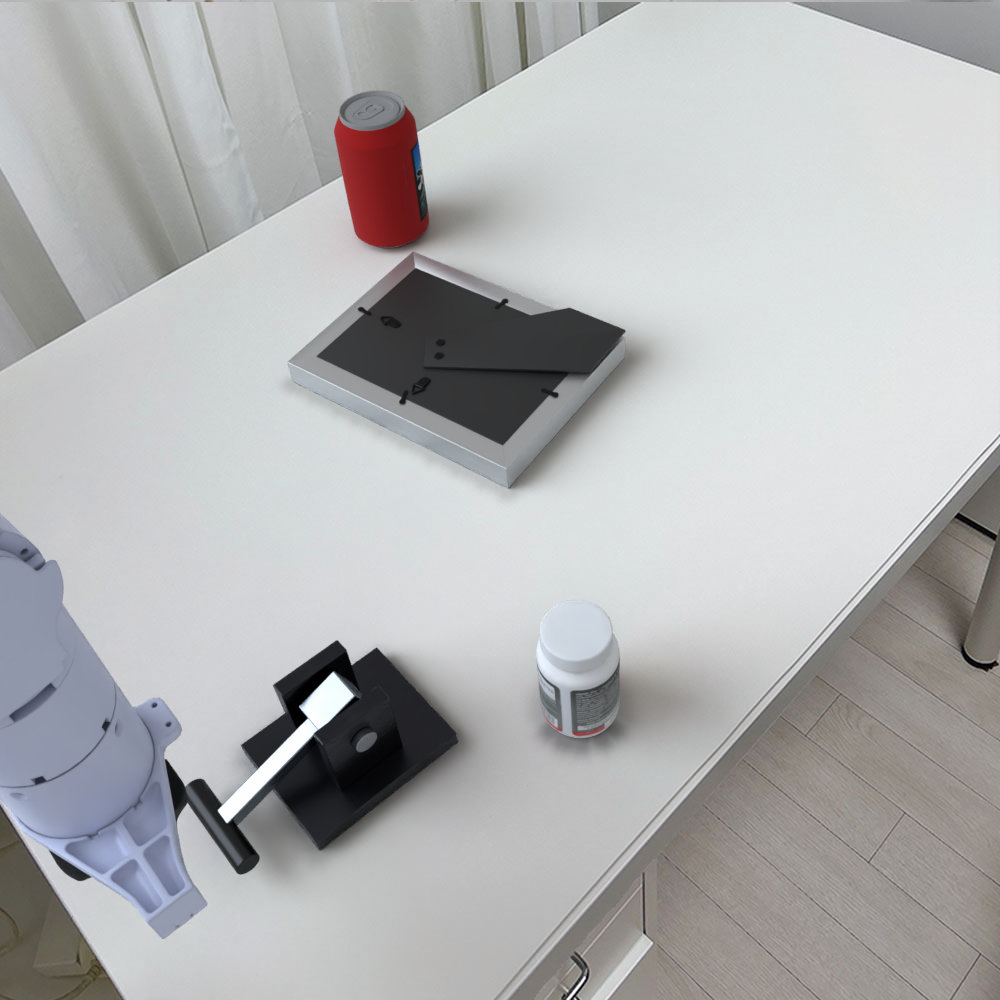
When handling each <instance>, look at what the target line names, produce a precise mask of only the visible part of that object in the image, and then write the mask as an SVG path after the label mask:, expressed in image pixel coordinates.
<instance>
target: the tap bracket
mask: <svg viewBox="0 0 1000 1000" xmlns="http://www.w3.org/2000/svg"><path fill="white" fill-rule="evenodd" d="M333 671H335V672H337V673H338V674H340V675H341V676H343V677H344V678H346V679H347V680H349V681H350V682H352V683H353V684H354V686H355V687H356V688H357V689H358V690H359V691H360V692H361V693H362V695H363V697H362V698H361V699H359V700H358V701H356V702H355V703H354V704H352V705H351V706H350V707H348V708H347V709H346V710H344V711H343V712H341V713H340V714H339V715H337V716H336V717H335V718H333V719H332V720H331V721H329V722H328V723H327V724H325V725H324V726H322V727H321V728H320V729H318V730H317V731H316V732H314V733H313V735H314V738H315V740H316V742H317V745H316V746H315V747H314V748H313V749H312V750H311V751H310V752H309V753H308V754H307V755H306V756H305V757H304V758H303V759H302V760H301V761H300V762H299V763H298V764H297V765H296V766H295V767H294V768H293V769H292V770H291V771H290V772H289V773H288V774H287V775H286V776H285V778H284V779H283V780H282V781H281V782H280V783H279V784H278V785H277V786H276V787H275V788H274V789H273V790H272V791H273V793H274V794H275V795H276V797H278V799H279V800H280V802H281V803H282V804H283V806H284V807H285V808H286V809H287V811H288V812H289V814H290V815H291V816H292V817H293V818H294V820H295V821H296V822H297V823H298V825H299V826H300V827H301V829H302V831H303V832H304V833H305V834H306V836H307V837H308V838H309V839H310V841H311V842H312V843H313V845H314V846H315V847H316V848H317V850H318V851H320V852H321V851H322V850H323V849H325V848H326V847H327V846H328V845H329V844H331V843H332V842H333V841H335V840H336V839H337V838H339V837H341V835H342V834H344V833H345V832H346V831H348V830H349V829H350V828H351V827H353V826H354V825H355V824H356V823H358V822H359V821H360V820H362V819H363V818H364V817H365V816H366V815H367V814H370V812H372V811H373V810H374V809H375V808H377V807H378V806H379V805H380V804H382V803H383V802H384V801H386V800H387V799H388V798H389V797H390V796H392V795H393V794H394V793H395V792H397V791H398V790H400V789H401V788H402V787H403V786H405V785H406V784H407V783H408V782H410V781H411V780H412V779H414V778H415V776H417V775H418V774H420V773H421V772H422V771H424V770H425V769H426V768H427V767H429V766H430V765H432V764H433V763H434V762H435V761H436V760H438V759H439V758H440V757H441V756H443V755H444V754H445V753H447V752H448V751H449V750H450V749H452V748H453V747H454V746H456V745H457V744H458V743H459V740H458V735H457V732H456V730H454V728H453V727H452V726H451V725H450V724H449V723H448V722H447V721H446V720H445V719H444V717H442V715H441V714H440V713H438V711H437V710H436V709H435V708H434V707H433V706H432V705H431V704H430V703H429V701H427V699H426V698H424V697H423V695H422V694H421V693H420V692H419V691H418V690H417V689H416V688H415V686H414V685H413V684H412V683H411V682H410V681H409V680H408V679H407V678H406V676H405V675H403V673H402V672H400V670H399V669H398V668H397V667H396V666H395V665H394V664H393V663H392V662H391V661H390V660H389V658H387V656H386V655H385V654H384V653H383V652H382V651H381V650H380V649H379V648H378V647H375V648H373V649H372V650H371V651H369V652H368V653H366V654H365V655H364V656H363V657H361V658H359V659H358V660H357V661H355V662H354V663H353V664H352V662H351V659H350V656H349V653H348V651H347V649H346V648H345V646H344V645H343V644H342V643H341V642H340V641H339V640H337V639H336V640H334V641H333V642H331V643H330V644H329V645H328V646H325V648H323V649H322V650H320V651H319V652H317V653H316V654H314V655H313V656H312V657H311V658H309V659H307V660H306V661H304V662H303V663H302V664H301V665H299V666H298V667H297V668H295V669H293V670H291V672H289V673H288V674H286V675H284V676H283V677H282V678H280V679H279V680H278V681H276V682H275V683H273V684H272V688H273V690H274V692H275V694H276V696H277V699H278V700H279V701H278V702H279V703H280V705H281V707H282V709H283V712H284V713H283V714H282V715H280V716H278V718H276V719H275V720H272V721H271V722H270V723H269V724H268V725H266V726H265V727H264V728H262V729H261V730H259V731H258V732H257V733H255V734H253V736H251V737H250V738H249V739H247V740H246V741H244V742H243V743H241V744H240V747H241V749H242V752H243V753H244V755H245V756H246V757H247V758H248V760H249V761H250V763H251V764H252V765H253V766H254V768H255V770H257V769H258V768H259V767H260V766H261V765H262V764H263V763H264V762H265V761H266V760H267V759H268V758H269V757H270V756H271V755H272V754H273V753H274V752H275V751H276V750H277V749H278V748H279V747H280V746H281V745H282V744H283V743H284V742H285V741H286V740H287V739H288V738H289V737H290V736H291V735H292V734H293V733H294V732H295V731H296V730H297V728H298V727H299V726H300V725H301V724H302V723H303V722H304V721H305V720H306V719H307V717H306V715H305V714H304V713H303V712H302V711H301V709H300V708H299V705H300V704H301V703H302V702H303V701H304V700H305V699H306V698H307V697H308V696H309V695H310V694H311V693H312V692H313V691H314V690H315V689H316V688H317V687H318V686H319V685H320V684H321V683H322V682H323V681H324V680H325V679H326V678H327V677H328V676H329V675H330V674H331V673H332V672H333Z"/></svg>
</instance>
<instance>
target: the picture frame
mask: <svg viewBox="0 0 1000 1000" xmlns="http://www.w3.org/2000/svg"><path fill="white" fill-rule="evenodd" d="M625 333H626V329H624V328H622V327H619V326H617V325H614V324H612V323H609V322H607V321H604V320H602V319H599V318H597V317H594V316H592V315H589V314H587V313H584V312H582V311H580V310H577V309H575V308H572V307H566V308H561V309H556V308H554V307H551V306H549V305H546V304H544V303H542V302H539V301H536V300H534V299H532V298H529V297H526V296H524V295H521V294H520V293H516V292H514V291H512V290H509V289H507V288H505V287H501V286H499V285H497V284H494V283H492V282H490V281H487V280H484V279H482V278H480V277H478V276H475V275H473V274H470V273H467V272H465V271H463V270H460V269H457V268H455V267H452V266H450V265H448V264H445V263H442V262H440V261H437V260H435V259H433V258H431V257H429V256H425V255H423V254H421V253H418V252H415V251H411V252H410V254H408V255H407V256H406V257H405V258H404V259H403V260H401V261H400V262H399V263H398V264H397V265H396V266H395V267H393V268H392V269H391V270H390V271H389V272H388V273H386V274H385V275H384V276H383V277H382V278H381V279H380V280H378V281H377V282H376V283H375V284H374V285H373V286H372V287H371V288H370V289H368V290H367V291H366V292H365V293H364V294H363V295H362V296H361V297H359V298H358V299H357V300H356V301H355V302H353V303H352V304H351V305H350V306H349V307H348V308H346V310H344V311H343V312H341V314H340V315H339V316H337V317H336V318H335V319H334V320H333V321H332V322H331V323H329V324H328V326H326V327H325V328H324V329H323V330H322V331H321V332H319V333H318V334H317V335H316V336H314V338H312V339H311V340H310V341H309V342H308V343H307V344H305V346H303V348H301V349H300V350H299V351H298V352H296V353H295V354H294V355H293V356H292V357H291V358H289V360H287V362H286V365H287V368H288V371H289V374H290V378H291V381H292V382H293V383H295V384H297V385H299V386H301V387H303V388H305V389H307V390H309V391H311V392H313V393H316V394H317V395H318V396H321V397H323V398H324V399H326V400H329V401H332V402H333V403H335V404H337V405H339V406H342V407H343V408H345V409H347V410H350V411H351V412H354V413H355V414H357V415H359V416H361V417H364V418H366V419H367V420H370V421H372V422H374V423H376V424H378V425H379V426H382V427H384V428H386V429H387V430H389V431H392V432H394V433H396V434H398V435H400V436H402V437H404V438H406V439H407V440H410V441H412V442H414V443H416V444H418V445H420V446H422V447H424V448H426V449H428V450H430V451H431V452H433V453H436V454H438V455H440V456H442V457H444V458H446V459H448V460H450V461H452V462H453V463H456V464H458V465H460V466H462V467H464V468H466V469H468V470H470V471H472V472H475V473H477V474H478V475H480V476H483V477H485V478H487V479H488V480H491V481H493V482H494V483H496V484H499V485H500V486H502V487H505V488H506V489H509V488H510V487H511V486H512V485H513V484H514V483H515V482H516V481H517V479H518V478H519V477H520V476H521V475H522V474H523V473H524V472H525V470H526V469H527V468H528V467H529V466H530V465H531V464H532V463H533V462H534V460H535V459H536V458H537V457H538V456H539V455H540V453H541V452H542V451H543V450H544V449H545V448H546V447H547V445H548V444H549V443H550V442H551V441H552V440H553V439H554V438H555V436H556V435H557V434H558V433H559V432H560V431H561V430H562V429H563V428H564V426H566V424H567V423H568V422H569V421H570V420H571V419H572V417H573V416H574V415H575V414H577V412H578V411H579V409H581V407H583V405H584V404H585V403H586V402H587V401H588V400H589V398H590V397H591V396H592V395H593V394H594V393H595V392H596V391H597V389H598V388H599V387H600V386H601V385H602V384H603V383H604V382H605V380H606V379H607V378H608V377H609V376H610V375H611V373H612V372H614V370H615V369H616V368H617V367H618V366H619V365H620V363H621V362H622V361H624V359H625V358H626V337H625V336H624V335H625Z"/></svg>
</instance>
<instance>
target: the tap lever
mask: <svg viewBox="0 0 1000 1000" xmlns="http://www.w3.org/2000/svg"><path fill="white" fill-rule="evenodd" d="M362 697H363V695H362V693H361V692H360V691H359V690H358V689H357V688H356V687H355V686H354V684H353V683H352V682H350V681H349V680H347V679H346V678H344V677H343V676H341V675H340V674H338V673H337V672H335V671H333V672H332V673H331V674H330V675H329V676H328V677H327V678H326V679H325V680H324V681H323V682H322V683H321V684H320V685H319V686H318V687H317V688H316V689H315V690H314V691H313V692H312V693H311V694H310V695H309V696H308V697H307V698H306V699H305V700H304V701H303V702H302V703H301V704H300V705H299V708H300V709H301V711H302V712H303V713H304V714H305V715H306V717H307V719H306V720H305V721H304V722H303V723H302V724H301V725H300V726H299V727H298V728H297V730H296V731H295V732H294V733H293V734H292V735H291V736H290V737H289V738H288V739H287V740H286V741H285V742H284V743H283V744H282V745H281V746H280V747H279V748H278V749H277V750H276V751H275V752H274V753H273V754H272V755H271V756H270V757H269V758H268V759H267V760H266V761H265V762H264V763H263V764H262V765H261V766H260V767H259V768H258V769H255V771H254V772H253V773H252V774H251V775H250V776H249V777H248V778H247V779H246V780H245V782H243V784H242V785H240V787H239V788H237V790H236V791H234V792H233V794H231V796H230V797H228V799H227V800H225V802H224V803H222V802H221V800H219V798H218V796H217V795H216V794H215V792H214V791H213V789H211V787H210V785H209V784H208V783H207V781H206V780H205V779H204V778H196V779H194V780H191V781H190V782H188V783H187V784H186V785H185V788H186V792H187V797H188V803H187V805H188V807H190V809H191V810H192V812H193V813H194V815H195V816H196V818H197V819H198V820H199V822H200V823H201V824H202V826H203V828H204V829H205V831H206V833H208V834H209V836H210V837H211V839H212V840H213V842H214V843H215V844H216V846H217V848H218V849H219V850H220V852H221V853H222V854H223V856H224V857H225V859H226V860H227V862H228V863H229V864H230V866H231V867H232V869H233V870H234V871H235V873H236V874H237V875H239V876H241V875H245V874H248V873H249V872H252V870H253V869H255V867H256V866H257V865H258V864H259V862H260V859H261V857H260V854H259V853H258V852H257V851H256V849H255V847H254V846H253V845H252V843H251V842H250V841H249V839H248V838H247V836H246V835H245V834H244V832H243V831H242V829H240V827H239V825H240V824H241V822H244V820H245V819H246V818H247V817H248V816H249V815H250V814H251V813H252V812H253V811H254V809H256V807H257V806H258V805H259V804H261V803H262V801H263V800H264V799H265V798H266V797H267V796H268V795H269V794H270V793H271V792H272V791H273V789H274V788H275V787H276V786H277V785H278V784H279V783H280V782H281V781H282V780H283V779H284V778H285V776H286V775H287V774H288V773H289V772H290V771H291V770H292V769H293V768H294V767H295V766H296V765H297V764H298V763H299V762H300V761H301V760H302V759H303V758H304V757H305V756H306V755H307V754H308V753H309V752H310V751H311V750H312V749H313V748H314V747H315V746H316V745H317V742H316V740H315V738H314V735H313V733H314V732H316V731H317V730H318V729H320V728H321V727H322V726H324V725H325V724H327V723H328V722H329V721H331V720H332V719H333V718H335V717H336V716H337V715H339V714H340V713H341V712H343V711H344V710H346V709H347V708H348V707H350V706H351V705H352V704H354V703H355V702H356V701H358V700H359V699H361V698H362Z"/></svg>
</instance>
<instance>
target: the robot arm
mask: <svg viewBox="0 0 1000 1000" xmlns="http://www.w3.org/2000/svg"><path fill="white" fill-rule="evenodd" d="M64 586H65V585H64V577H63V573H62V571H61V568H60V565H59V563H58V562H57V560H55V559H49V560H47V561H46V559H45V558H44V555H43V554H42V553H41V551H40V550H39V548H38V547H37V546H35V544H33V543H32V541H31V540H29V539H28V538H27V537H26V536H25V535H24V534H23V533H22V532H21V531H20V530H19V529H18V528H17V527H16V526H15V525H14V524H13V523H11V522H10V521H9V519H7V517H5V515H3V514H2V513H1V512H0V801H1V802H2V803H3V804H4V805H5V807H7V809H8V810H9V813H10V815H11V818H12V820H13V821H14V822H15V823H16V825H17V826H18V827H19V829H20V830H21V831H22V832H24V834H25V835H27V836H28V837H29V838H31V839H32V840H33V841H34V842H36V843H37V844H39V845H41V846H42V847H44V848H45V849H47V851H48V853H50V855H51V857H52V858H53V861H54V862H55V864H56V865H57V867H58V868H59V869H60V870H61V871H62V872H63V874H65V875H67V877H69V878H71V879H73V880H75V881H77V882H84V881H87V880H88V879H91V878H93V879H94V880H95V881H97V882H98V883H100V884H101V885H103V886H105V887H106V888H108V889H109V890H111V891H112V892H114V893H115V894H117V895H119V896H121V898H123V899H124V900H125V901H127V902H129V904H131V905H132V906H133V907H134V908H135V909H136V910H137V911H138V913H139V914H140V915H141V917H142V918H143V919H144V921H145V922H146V924H147V925H148V926H149V927H150V928H151V929H152V930H153V931H154V932H155V933H156V934H157V935H158V936H159V937H160V938H161V939H162V940H165V939H166V938H168V937H169V936H171V934H173V933H175V931H177V930H178V929H179V928H181V927H182V926H184V925H185V924H187V923H188V922H189V921H190V920H192V919H193V918H194V917H195V916H196V915H197V914H199V913H200V912H201V911H202V910H204V909H205V908H206V907H207V906H208V901H207V900H206V899H205V897H204V895H203V894H202V892H201V891H200V890H199V888H198V887H197V885H196V884H195V883H194V882H193V880H192V878H191V877H190V874H189V871H188V870H187V866H186V864H185V860H184V855H183V853H182V847H181V842H180V836H179V830H178V819H179V817H180V815H181V814H182V812H183V810H184V809H185V807H186V806H187V805H188V797H187V792H186V788H185V786H186V785H185V783H184V781H183V780H182V778H181V777H180V775H179V774H178V773H177V771H176V770H175V769H174V767H173V766H172V764H171V763H170V762H169V760H168V759H167V758H165V753H166V750H167V748H168V747H169V746H170V745H171V744H173V743H174V742H176V741H177V740H178V739H179V738H180V736H182V732H183V727H182V724H181V723H180V721H179V719H178V718H177V717H176V715H175V714H174V713H173V711H172V710H171V708H170V707H169V705H168V704H167V703H166V702H165V700H164V699H162V698H161V697H151V698H149V699H147V700H146V701H144V702H142V703H141V704H139V705H137V706H132V704H131V702H130V701H129V699H128V698H127V697H126V695H125V693H124V692H123V691H122V689H121V687H120V686H119V685H118V683H117V682H116V680H115V679H114V677H113V676H112V675H111V673H110V671H109V670H108V668H107V667H106V665H105V664H104V662H103V661H102V659H101V658H100V656H99V655H98V653H97V652H96V651H95V649H94V647H93V646H92V645H91V643H90V642H89V640H88V639H87V637H86V636H85V634H84V633H83V631H82V630H81V628H80V627H79V625H78V624H77V623H76V621H75V620H74V618H73V617H72V615H71V614H70V612H69V610H68V609H67V607H66V606H65V604H64V603H63V600H64V593H65V591H64V590H65V589H64V588H65V587H64Z"/></svg>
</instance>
